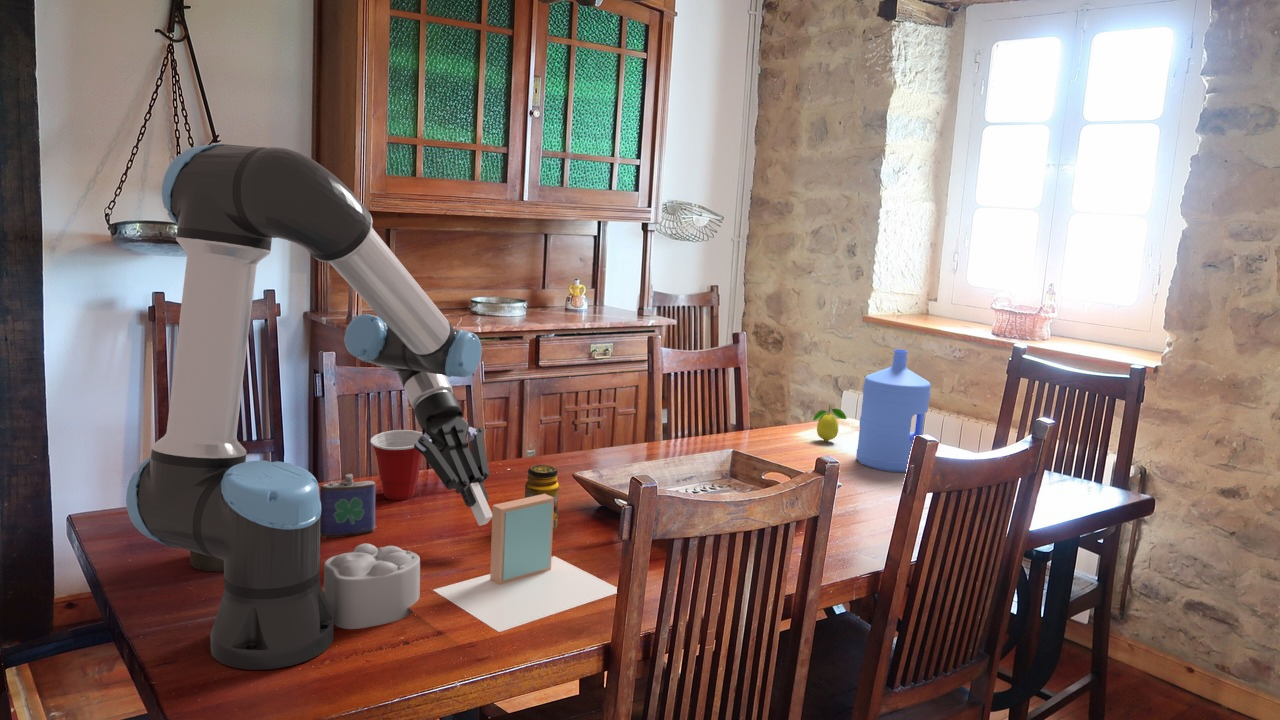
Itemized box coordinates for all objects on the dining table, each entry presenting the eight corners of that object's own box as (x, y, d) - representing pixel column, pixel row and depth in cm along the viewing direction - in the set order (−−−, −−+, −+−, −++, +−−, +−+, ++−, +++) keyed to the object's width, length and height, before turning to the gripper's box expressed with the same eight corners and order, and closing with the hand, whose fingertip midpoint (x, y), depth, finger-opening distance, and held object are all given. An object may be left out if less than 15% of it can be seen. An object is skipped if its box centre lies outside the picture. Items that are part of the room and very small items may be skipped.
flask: (373, 527, 168) (374, 469, 166) (376, 533, 165) (377, 474, 163) (319, 533, 164) (319, 473, 162) (321, 539, 161) (321, 479, 159)
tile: (500, 585, 144) (502, 509, 142) (490, 579, 146) (492, 505, 144) (551, 570, 151) (555, 498, 149) (541, 564, 153) (544, 493, 151)
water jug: (862, 470, 223) (874, 353, 218) (850, 453, 238) (861, 343, 233) (929, 475, 222) (943, 358, 217) (912, 457, 238) (925, 347, 233)
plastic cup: (358, 499, 182) (358, 439, 180) (389, 484, 192) (390, 427, 190) (407, 508, 179) (408, 447, 177) (437, 492, 189) (438, 434, 187)
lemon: (844, 444, 247) (847, 406, 245) (827, 446, 243) (831, 408, 242) (826, 437, 252) (830, 401, 250) (809, 439, 249) (813, 402, 247)
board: (498, 640, 129) (499, 632, 129) (432, 597, 141) (432, 589, 141) (622, 598, 145) (623, 590, 145) (553, 562, 157) (554, 556, 157)
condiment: (565, 536, 170) (568, 471, 168) (523, 543, 165) (525, 477, 163) (546, 523, 176) (549, 460, 174) (505, 529, 171) (507, 465, 169)
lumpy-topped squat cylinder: (318, 604, 137) (318, 547, 135) (404, 587, 144) (405, 533, 143) (341, 633, 129) (342, 573, 127) (431, 613, 136) (433, 556, 135)
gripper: (457, 408, 171) (508, 523, 162) (391, 417, 162) (442, 540, 153) (474, 385, 166) (528, 502, 157) (408, 393, 157) (461, 518, 148)
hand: (486, 521), depth 155 cm, fingers closed
